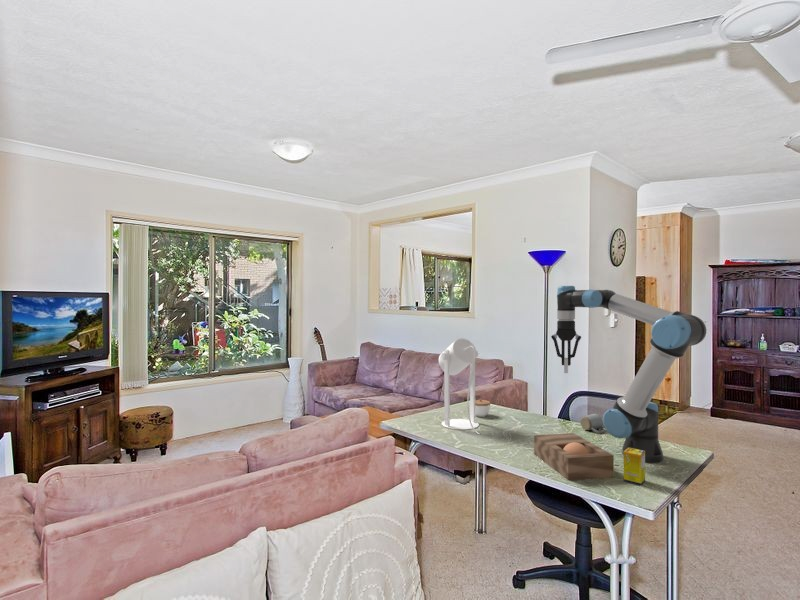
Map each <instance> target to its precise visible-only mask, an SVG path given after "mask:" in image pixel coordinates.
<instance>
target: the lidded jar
mask: <svg viewBox="0 0 800 600" xmlns="http://www.w3.org/2000/svg"><path fill="white" fill-rule="evenodd" d="M490 409H491V401H490V400H486V399H482V398H479V399H475V417H479V418H483V417H487V415H488V414H489V413H490Z"/></svg>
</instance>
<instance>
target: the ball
mask: <svg viewBox="0 0 800 600" xmlns="http://www.w3.org/2000/svg"><path fill="white" fill-rule="evenodd" d="M563 450H565V451H566V452H568V453H569V454H571V455H579V454H589V452H588V450H587V449H586V447H585V446H583V445H582V444H580V443H576V442H573V443H569V444H567V445H566V446H565V447H564V449H563Z"/></svg>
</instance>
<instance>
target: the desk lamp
mask: <svg viewBox="0 0 800 600" xmlns="http://www.w3.org/2000/svg"><path fill="white" fill-rule="evenodd" d="M478 357H479V351H478V350H477V349H476V347H475V345H474V344H473V343H472V342H471V341H470V340H468V339H466V338H462V337H461V338H457V339H455V340H454V341H453V342H452V343H451V344H450V345H449V346H448V347H447V348H445V349H444V351H442V352H441V353H440V354H439V356H438V366H439V368H440V370H441V371H442V372H443V373H444V374H443V375H444V376H443V377H444V383H443V384H444V385H443V386H444V389H443V391H444V394H443V395H444V400H443V401H444V420H442V422H441V426H442V427H444V428H446V429H450V430H457V431H465V430H467V431H468V430H469V431H470V430H473V431H474V432H475V433H476V434H478V435H481V433H480V432H478V431H477V430H476V428H478V427H479V426H480V424H479V423H478V421H476V416H475V400H476V359H477V358H478ZM468 366H469V377H468V378H467V379H468V380H467V381H468V384H467V387H468V390H467V398H466V401H467V403H466V404H467V405H466V408H467V415H468V418H451V416H450V413H451V409H450V408H451V407H450V405H451V403H450V400H451V399H450V398H451V396H450V395H451V391H450V388H451V387H450V383H451V382H450V376H456V375H459V374H460V373H461V372H462V371H463V370H465V369H466V368H467V367H468Z"/></svg>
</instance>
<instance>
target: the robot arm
mask: <svg viewBox="0 0 800 600" xmlns="http://www.w3.org/2000/svg"><path fill="white" fill-rule="evenodd" d="M556 293H557V294H556V299H557V301H556V302H557V310H556V311H557V312H556V313H557V314H556V316H557V323H556V327H557V329H556V332H555V333H554V334H552V335H551V336H550V337H551V340H553V343H554V349H555V352H556V355H557V357H559V358H561V366H564V367H563V368H564V371H563V373H564V374H569V366H571V364H572V362H571V361H572V358H575V357H576V353H577V349H578V345H579V342H580V340H581V339H582V336H581V335H579V334H577V332H576V321H575V319H576V308H592V309H593V308H603V309H607V310H608V311H609V310H610V311H613V312H615V313H618V314H621V315H623V316H626V317H628V318H631V319H634V320H637V321H640V322H642V323H645V324H648V325H650V326H652V327H651V330H650V331H651V332H650V334H651V339H650V340H649V344H650V347H651V349H650V350H649V352H648V353H647V355H646V357H645V359H644V360H643V363H642V364H641V366H640V367H639V369H638V371H637V373H636V375H635V376H634V378H633V380H632V381H631V383H630V385H629V387H628V388H627V391H626V392H625V394H624V396H622V397H618V398H617V399H616V402H615V403H614V405H613V407H612V408H609V409H607V410H606V411H605V412H604V413H603V415H602V421H603V425H604V426H603V428H604V430H606V432H607V433H608V434H609V435H610V436H612V437H613V438H616V439H625V440H624V442H623V445H622V447H621V453H622V455H623V452H624V451H625V450H626V449H627V448H633V449H638V450H643V451H645V463H659V462H662V461H663V460H664V452H663V450H662V447H661V444H660V440H659V414H660V411H659V405H658V404H657V403H655V402H652V401H651V400H652V399H653V398H654V396H655V394H656V392H657V390H658V389H659V388H660V385H661V384H662V383H663V380H664V379H665V377H666V376H667V374H668V372H669V370H670V369H671V367H672V366H673V364H674V362H675V361H676V360H677V359H681V358H683V357H684V355H685V353H686V352H687V350H688V348H689V347H691V346H695V345H698V344H700V343H702V342H703V340H704V339H705V337H706V335H707V326H706V323H704V321H703V320H702V319H701V318H700V317H698V316H697V315H693V314H691V313H690V314H689V313H685V312H681V311H678V310H675V311H670V310H667V309H664V308H661V307H658V306H655V305H651V304H649V303H646V302H642V301H639V300H636V299H633V298H630V297H627V296H624V295H621V294H618V293H616V292H615V291H613V290H609V289H576V286H574V285H560V286H558V287H557V292H556ZM558 338H559V340H560V341H561V350H560V349H559V347H560V346H559V345H558V340H557V339H558ZM574 338H575V342H574V346H573V350H571V347H572V346H571V345H572V344H571V343H572V342H571V341H572V340H573V339H574ZM566 342H567V357H566V356H565V353H566V352H565V349H566V347H565V346H566V345H565V343H566ZM560 351H561V352H560ZM571 351H572V353H571Z"/></svg>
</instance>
